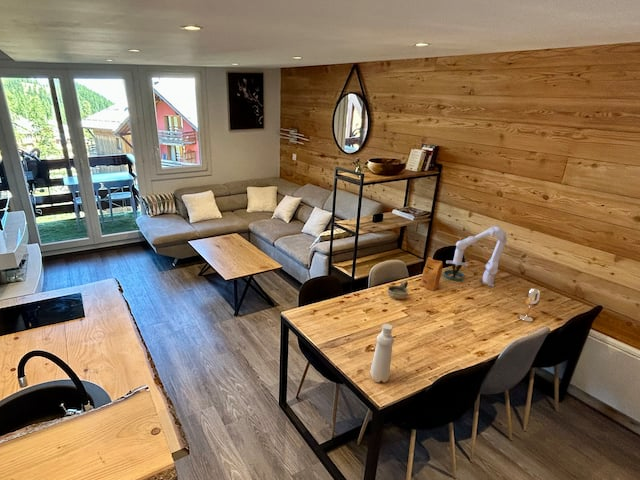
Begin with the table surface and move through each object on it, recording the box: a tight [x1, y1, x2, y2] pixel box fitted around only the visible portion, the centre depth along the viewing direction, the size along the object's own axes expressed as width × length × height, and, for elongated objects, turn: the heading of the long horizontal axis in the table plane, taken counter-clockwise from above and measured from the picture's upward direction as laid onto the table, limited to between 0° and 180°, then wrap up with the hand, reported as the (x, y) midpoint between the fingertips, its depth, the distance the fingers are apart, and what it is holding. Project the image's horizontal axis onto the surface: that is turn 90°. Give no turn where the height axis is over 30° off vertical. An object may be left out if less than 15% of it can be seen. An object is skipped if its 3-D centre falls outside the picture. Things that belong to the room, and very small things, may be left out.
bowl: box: [387, 280, 409, 300], centre depth 266 cm, size 14×18×10 cm
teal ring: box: [443, 269, 465, 282], centre depth 295 cm, size 14×14×4 cm
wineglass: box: [518, 288, 541, 323], centre depth 242 cm, size 8×8×20 cm
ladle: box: [450, 269, 458, 278], centre depth 292 cm, size 4×4×7 cm
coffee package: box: [420, 256, 444, 291], centre depth 279 cm, size 10×12×22 cm
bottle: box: [369, 323, 395, 383], centre depth 186 cm, size 9×9×30 cm
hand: (454, 273), depth 292 cm, fingers closed on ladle
